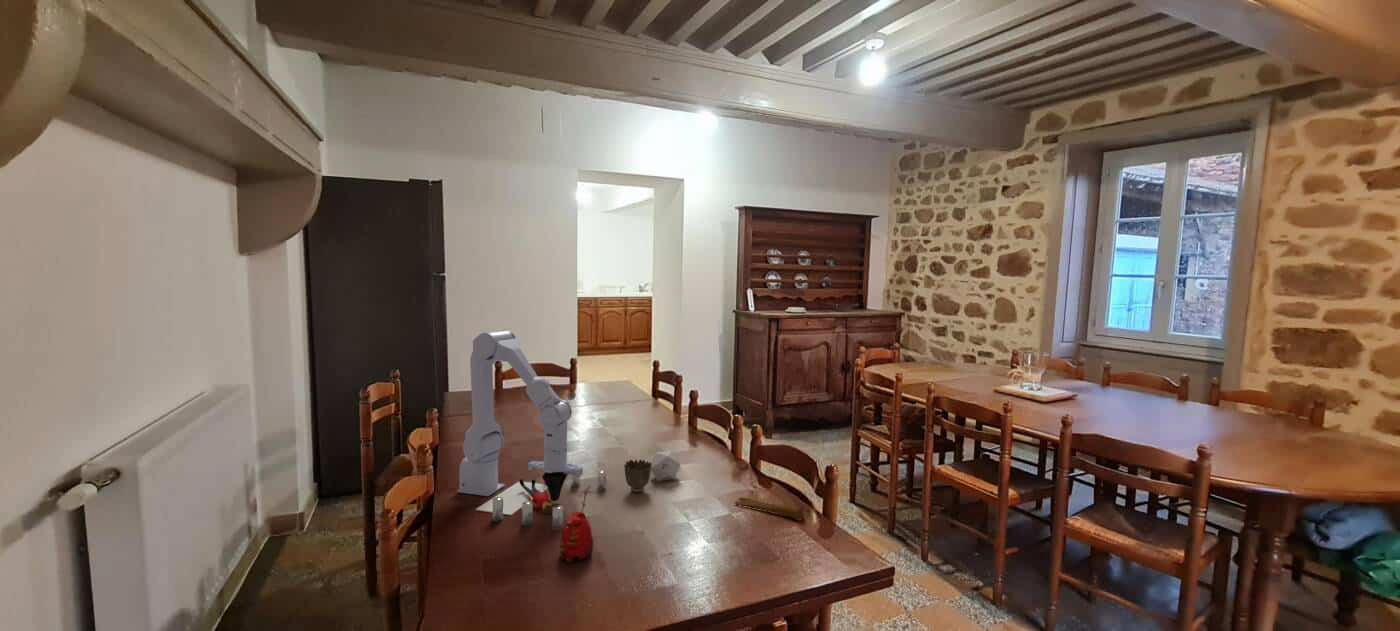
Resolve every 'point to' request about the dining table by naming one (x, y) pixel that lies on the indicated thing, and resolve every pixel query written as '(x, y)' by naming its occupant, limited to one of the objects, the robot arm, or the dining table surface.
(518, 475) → the dining table surface
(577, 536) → the red clay folk toy
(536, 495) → the person figure
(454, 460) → the dining table surface
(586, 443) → the dining table surface
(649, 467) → the cup
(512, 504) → the mat
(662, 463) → the die
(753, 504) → the primitive tool
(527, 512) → the spacer field
